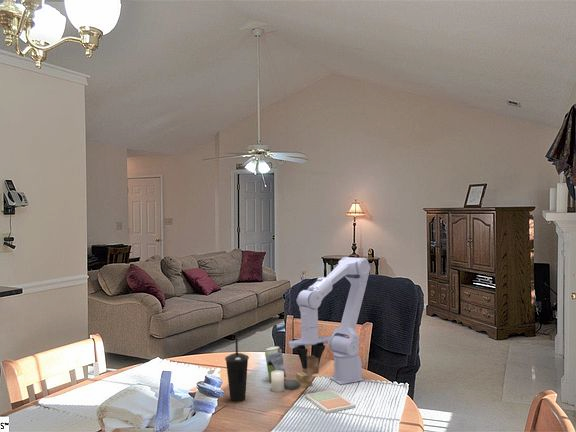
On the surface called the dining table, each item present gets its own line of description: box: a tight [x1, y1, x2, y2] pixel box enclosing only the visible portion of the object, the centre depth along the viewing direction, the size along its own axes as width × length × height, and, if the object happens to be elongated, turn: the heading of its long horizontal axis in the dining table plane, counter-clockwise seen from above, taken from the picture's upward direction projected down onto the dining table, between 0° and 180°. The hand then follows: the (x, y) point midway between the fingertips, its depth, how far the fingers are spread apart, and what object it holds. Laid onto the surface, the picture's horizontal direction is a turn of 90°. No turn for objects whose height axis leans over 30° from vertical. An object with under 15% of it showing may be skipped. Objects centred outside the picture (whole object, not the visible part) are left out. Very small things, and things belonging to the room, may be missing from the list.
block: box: [302, 354, 320, 375], centre depth 169 cm, size 4×4×5 cm
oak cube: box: [295, 371, 313, 388], centre depth 176 cm, size 4×4×4 cm
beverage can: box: [264, 346, 287, 381], centre depth 181 cm, size 6×7×12 cm
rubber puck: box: [284, 379, 300, 391], centre depth 174 cm, size 5×5×2 cm
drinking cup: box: [224, 337, 250, 403], centre depth 164 cm, size 8×8×20 cm
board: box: [304, 389, 356, 414], centre depth 160 cm, size 10×15×1 cm, turn 24°
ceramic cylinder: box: [270, 370, 285, 393], centre depth 172 cm, size 4×4×6 cm
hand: (310, 366), depth 169 cm, fingers closed on block, 4 cm apart
